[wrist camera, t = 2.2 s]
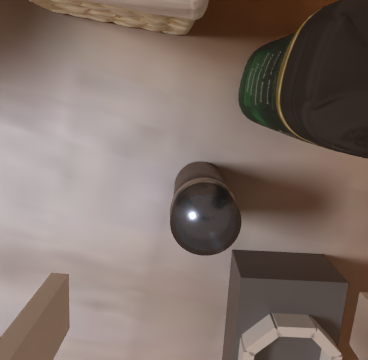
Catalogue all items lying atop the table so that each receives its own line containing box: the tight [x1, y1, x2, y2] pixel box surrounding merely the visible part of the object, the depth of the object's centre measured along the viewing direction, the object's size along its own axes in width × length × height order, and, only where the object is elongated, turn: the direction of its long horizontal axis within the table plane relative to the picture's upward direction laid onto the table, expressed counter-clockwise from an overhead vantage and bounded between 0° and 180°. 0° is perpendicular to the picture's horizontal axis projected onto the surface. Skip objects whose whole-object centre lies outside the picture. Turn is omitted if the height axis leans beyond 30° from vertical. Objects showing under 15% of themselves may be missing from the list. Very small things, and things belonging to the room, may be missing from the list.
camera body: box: [222, 250, 349, 360], centre depth 35 cm, size 16×10×8 cm, turn 177°
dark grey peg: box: [170, 162, 241, 255], centre depth 30 cm, size 5×5×11 cm
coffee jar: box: [239, 0, 368, 158], centre depth 24 cm, size 10×8×19 cm
